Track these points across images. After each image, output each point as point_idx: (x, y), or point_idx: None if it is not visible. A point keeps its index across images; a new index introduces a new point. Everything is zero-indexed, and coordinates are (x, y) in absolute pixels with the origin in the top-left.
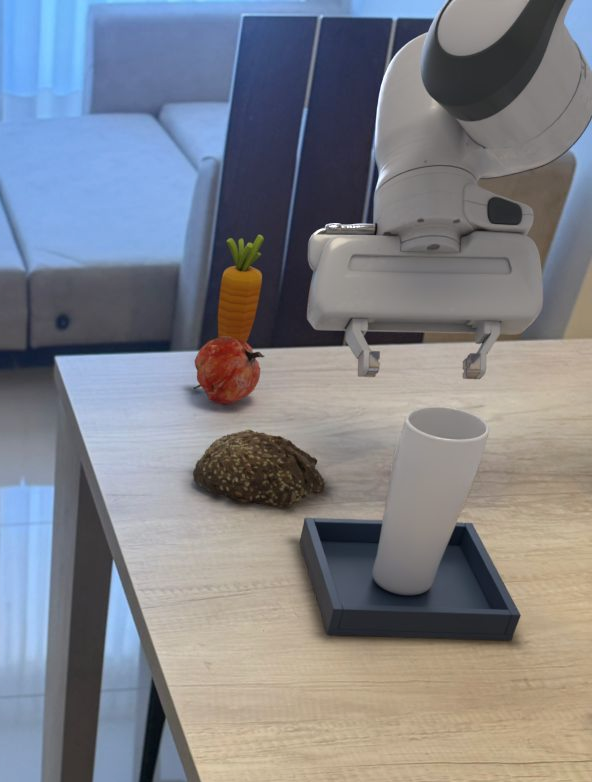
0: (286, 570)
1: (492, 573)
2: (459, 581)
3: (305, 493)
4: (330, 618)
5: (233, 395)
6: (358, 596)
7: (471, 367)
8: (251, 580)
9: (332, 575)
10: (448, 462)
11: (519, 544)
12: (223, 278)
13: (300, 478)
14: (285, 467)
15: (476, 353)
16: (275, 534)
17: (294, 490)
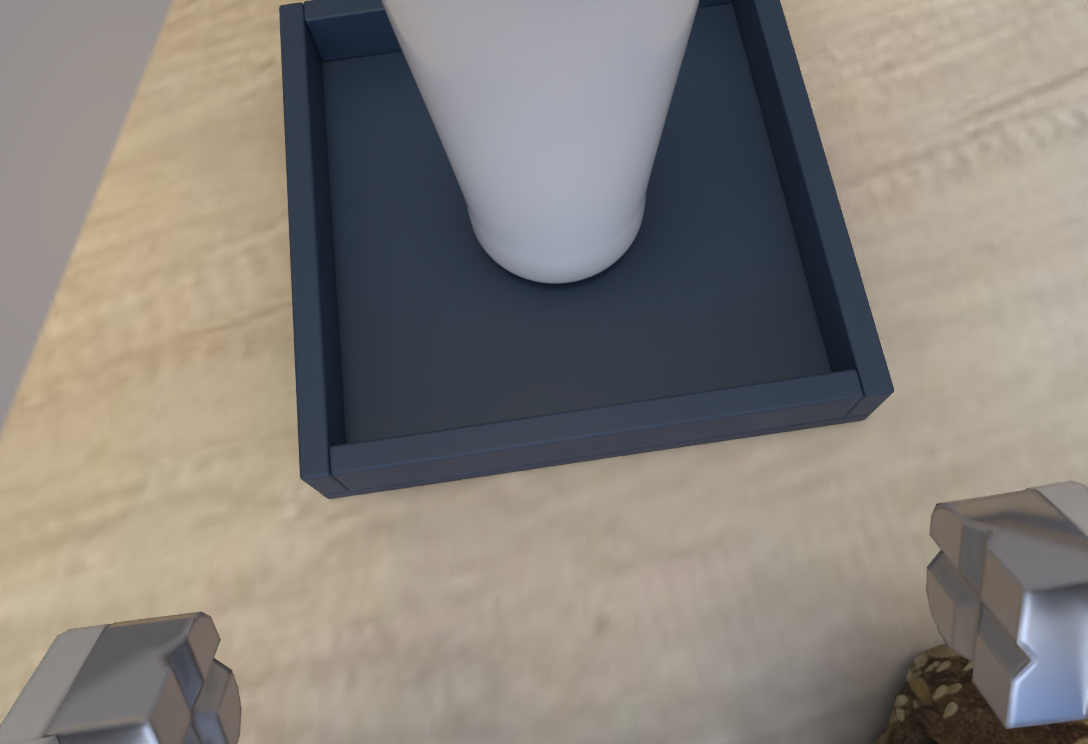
0: (883, 250)
1: (306, 176)
2: (388, 252)
3: (900, 701)
4: None
5: None
6: (677, 124)
7: (177, 624)
8: (974, 180)
9: (753, 210)
10: None
11: (138, 559)
12: None
13: (954, 726)
14: (1049, 732)
15: (87, 723)
16: (950, 455)
17: (954, 668)
